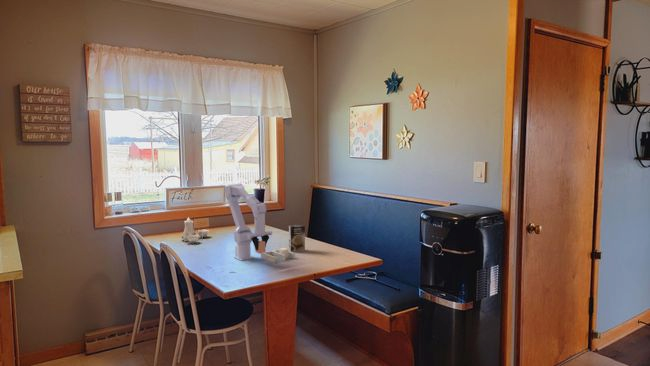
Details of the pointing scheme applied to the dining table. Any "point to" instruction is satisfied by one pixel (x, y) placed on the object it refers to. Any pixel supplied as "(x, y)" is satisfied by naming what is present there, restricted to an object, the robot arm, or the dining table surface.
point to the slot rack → (277, 256)
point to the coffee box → (296, 238)
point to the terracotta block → (261, 247)
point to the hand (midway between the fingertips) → (260, 249)
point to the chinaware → (192, 232)
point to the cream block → (284, 252)
